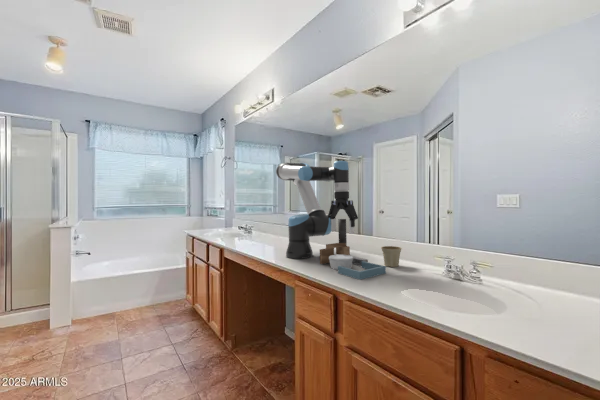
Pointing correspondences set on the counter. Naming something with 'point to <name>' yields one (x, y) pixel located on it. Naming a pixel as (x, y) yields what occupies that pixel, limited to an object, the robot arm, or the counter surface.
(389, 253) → the flower pot
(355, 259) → the rail
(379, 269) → the frame
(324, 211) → the robot arm
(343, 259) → the ramekin
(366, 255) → the counter surface
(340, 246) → the pusher
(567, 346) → the counter surface
